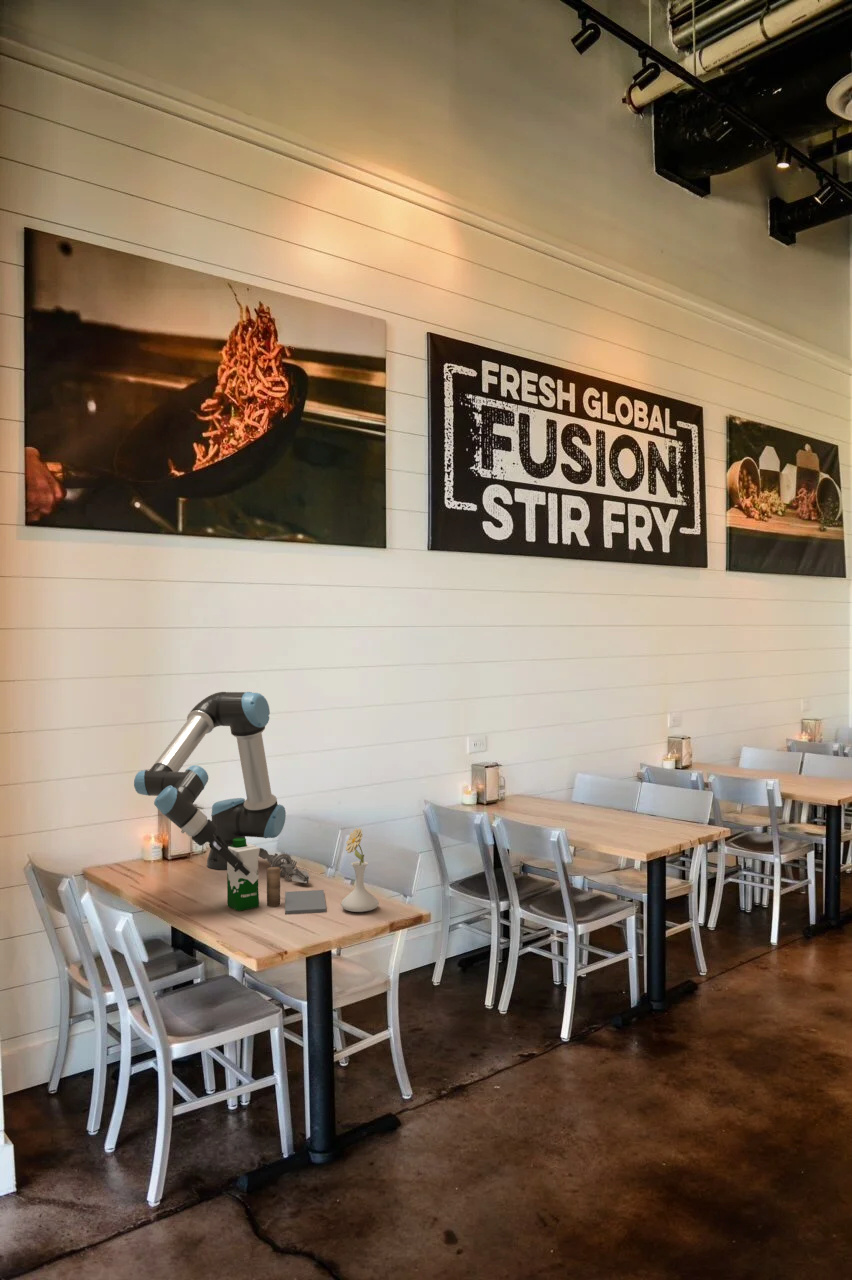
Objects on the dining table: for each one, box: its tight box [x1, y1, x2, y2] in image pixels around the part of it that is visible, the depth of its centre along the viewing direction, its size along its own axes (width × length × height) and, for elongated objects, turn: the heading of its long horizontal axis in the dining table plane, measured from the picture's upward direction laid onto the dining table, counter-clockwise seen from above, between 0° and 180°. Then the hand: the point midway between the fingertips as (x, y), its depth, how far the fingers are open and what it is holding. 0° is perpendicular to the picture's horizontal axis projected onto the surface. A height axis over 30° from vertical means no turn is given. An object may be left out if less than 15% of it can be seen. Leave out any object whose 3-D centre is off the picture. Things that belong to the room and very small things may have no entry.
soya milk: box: [226, 837, 261, 912], centre depth 272 cm, size 9×9×20 cm
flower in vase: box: [340, 827, 380, 913], centre depth 268 cm, size 13×11×25 cm
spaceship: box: [259, 847, 311, 885], centre depth 306 cm, size 8×35×8 cm
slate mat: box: [284, 889, 327, 915], centre depth 275 cm, size 20×12×1 cm, turn 9°
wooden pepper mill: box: [266, 866, 281, 908], centre depth 274 cm, size 4×4×11 cm
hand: (253, 876), depth 273 cm, fingers closed on soya milk, 9 cm apart
